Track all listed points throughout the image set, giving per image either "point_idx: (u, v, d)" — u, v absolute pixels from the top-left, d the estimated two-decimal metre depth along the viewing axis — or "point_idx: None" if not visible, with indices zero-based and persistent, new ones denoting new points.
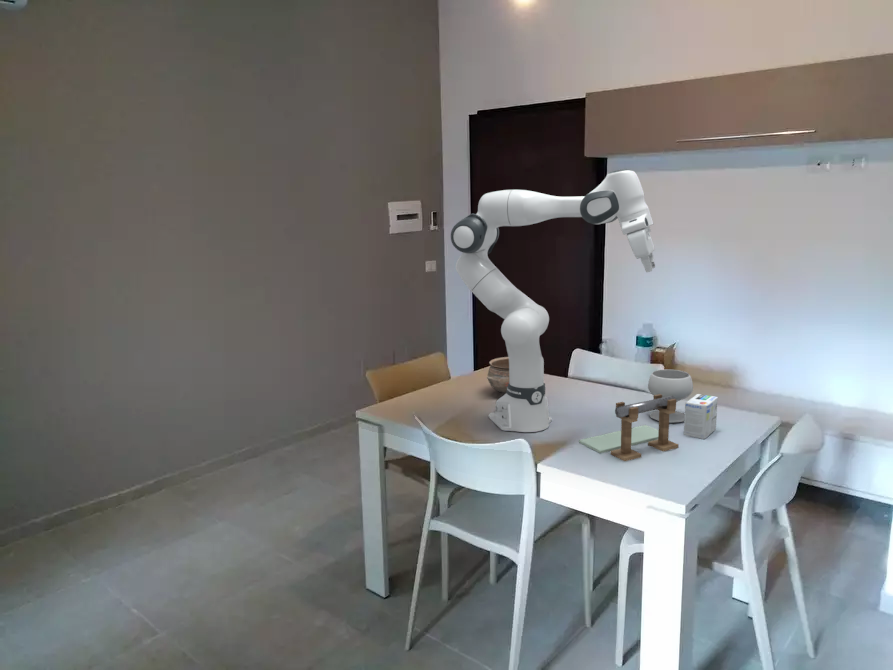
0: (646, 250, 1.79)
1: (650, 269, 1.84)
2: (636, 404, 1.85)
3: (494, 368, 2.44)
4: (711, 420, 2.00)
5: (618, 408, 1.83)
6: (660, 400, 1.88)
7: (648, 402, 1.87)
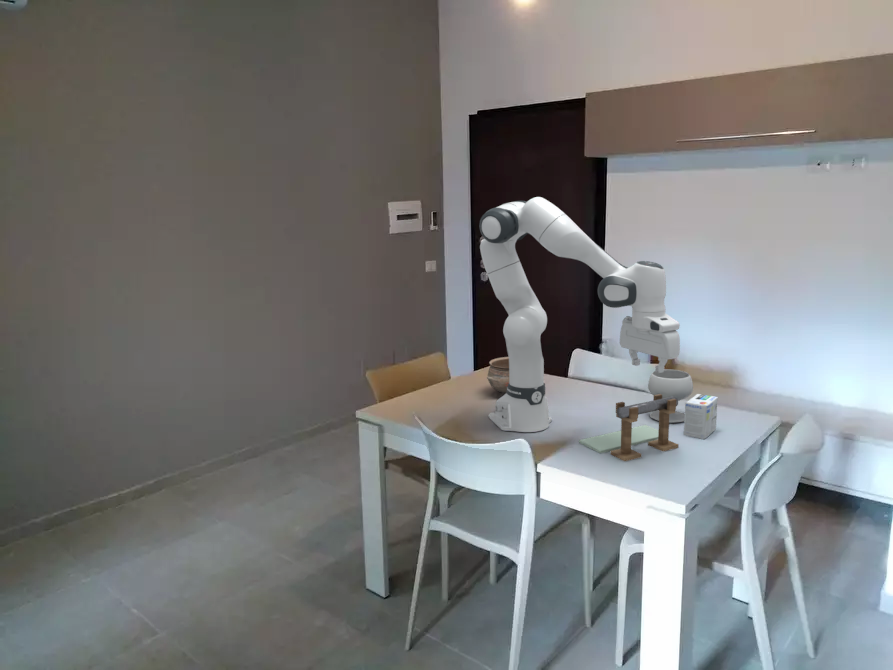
0: (678, 353, 1.76)
1: (663, 370, 1.81)
2: (639, 406, 1.84)
3: (494, 368, 2.44)
4: (711, 420, 2.00)
5: (621, 409, 1.82)
6: (663, 403, 1.88)
7: (651, 405, 1.86)
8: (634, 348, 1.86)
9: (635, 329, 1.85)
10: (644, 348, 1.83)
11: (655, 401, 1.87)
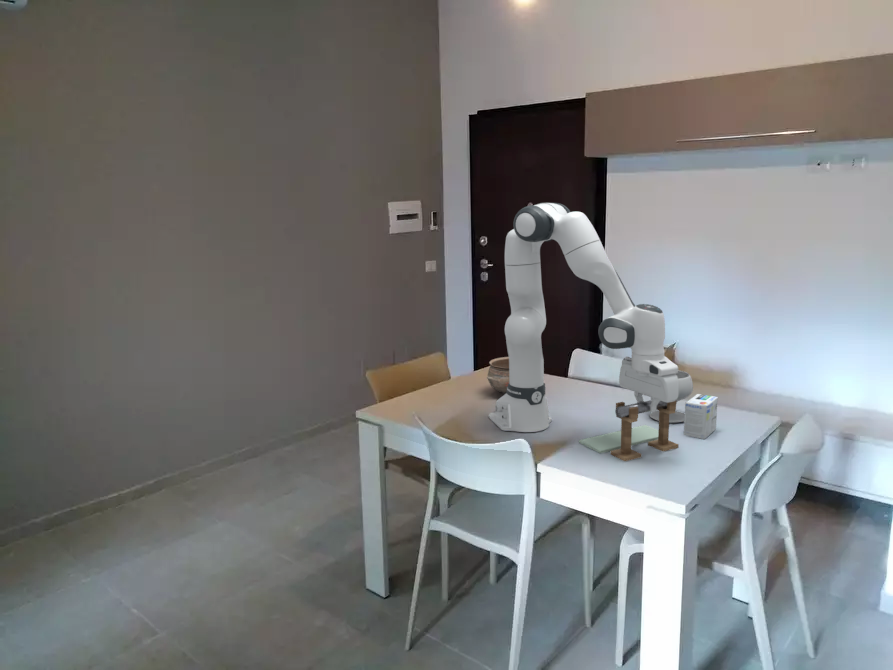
0: (677, 396, 1.78)
1: (655, 409, 1.85)
2: (637, 404, 1.85)
3: (494, 368, 2.44)
4: (711, 420, 2.00)
5: (619, 408, 1.83)
6: None
7: (649, 402, 1.87)
8: (633, 389, 1.89)
9: (634, 370, 1.87)
10: (643, 389, 1.85)
11: None
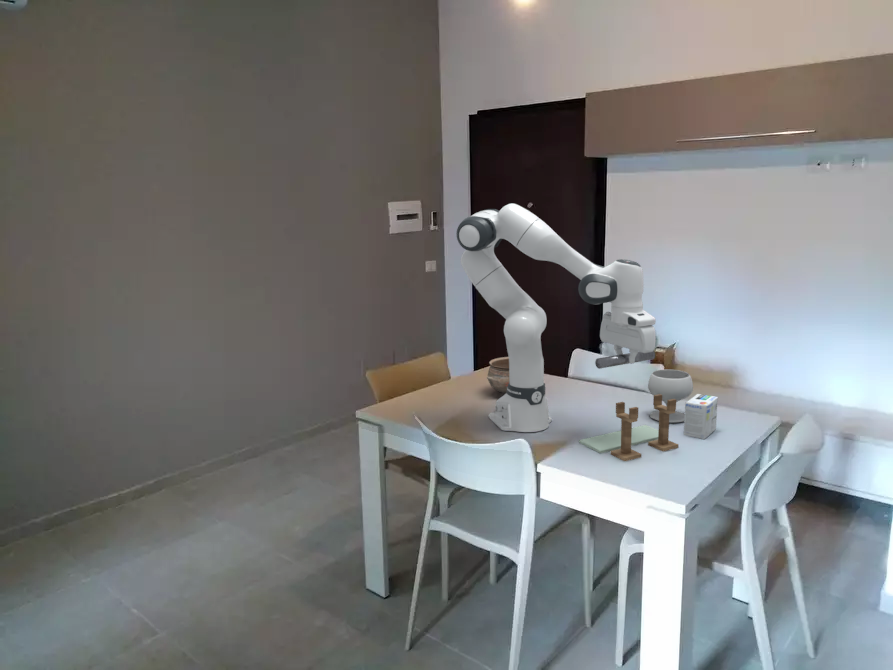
0: (654, 347, 1.85)
1: (633, 361, 1.92)
2: (616, 356, 1.92)
3: (494, 368, 2.44)
4: (711, 420, 2.00)
5: (598, 359, 1.90)
6: (639, 353, 1.95)
7: (627, 355, 1.94)
8: (613, 342, 1.96)
9: (614, 324, 1.94)
10: (622, 342, 1.92)
11: None
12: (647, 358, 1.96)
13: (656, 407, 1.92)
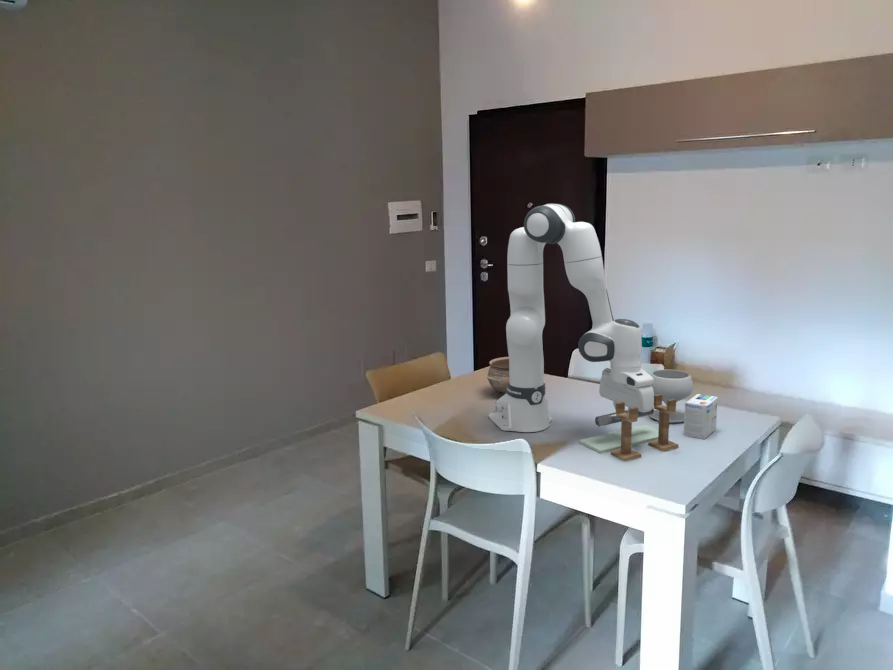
0: (652, 406, 1.89)
1: None
2: (615, 414, 1.96)
3: (494, 368, 2.44)
4: (711, 420, 2.00)
5: (598, 417, 1.94)
6: None
7: (627, 412, 1.97)
8: (612, 399, 1.99)
9: (613, 381, 1.98)
10: (622, 400, 1.95)
11: None
12: (646, 414, 2.00)
13: (656, 407, 1.92)
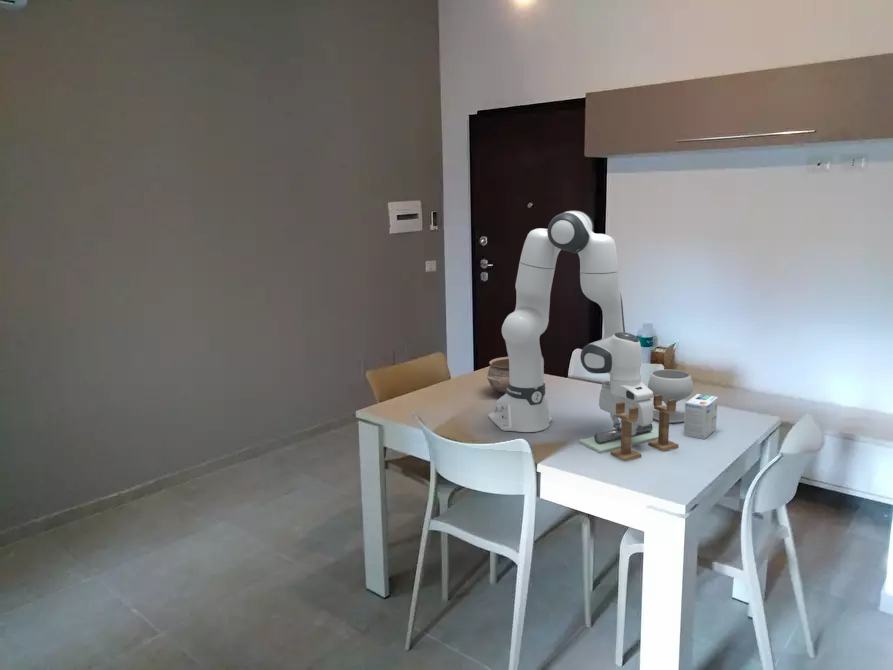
0: (652, 420, 1.90)
1: (634, 433, 1.96)
2: (614, 430, 1.97)
3: (494, 368, 2.44)
4: (711, 420, 2.00)
5: (597, 434, 1.95)
6: None
7: None
8: (612, 412, 2.00)
9: (613, 394, 1.99)
10: None
11: None
12: (645, 431, 2.01)
13: (656, 407, 1.92)
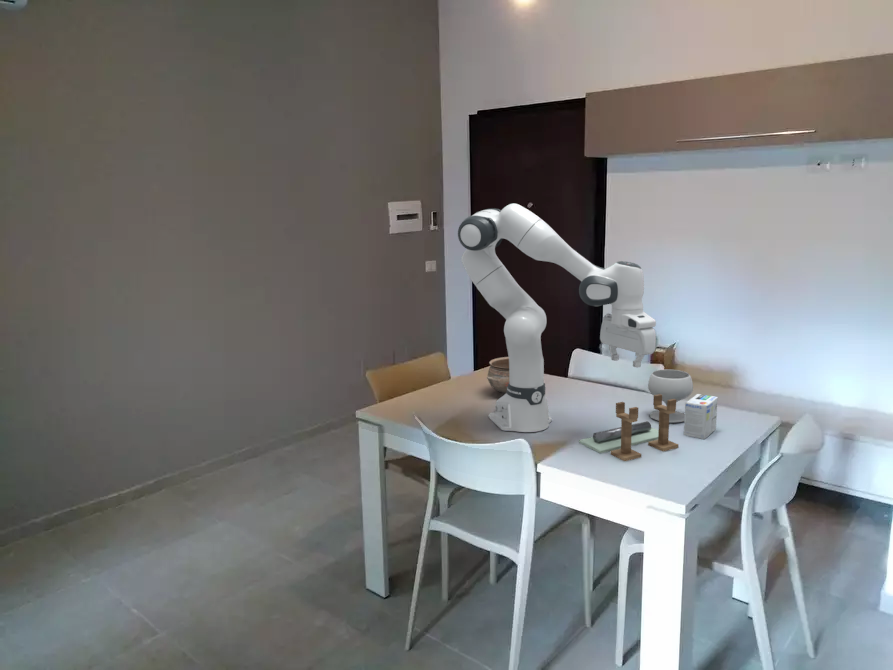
0: (654, 349, 1.85)
1: (639, 365, 1.90)
2: (611, 429, 1.98)
3: (494, 368, 2.44)
4: (711, 420, 2.00)
5: (595, 434, 1.96)
6: (634, 424, 2.01)
7: None
8: (613, 344, 1.96)
9: (614, 326, 1.94)
10: (623, 344, 1.92)
11: None
12: (644, 428, 2.02)
13: (656, 407, 1.92)
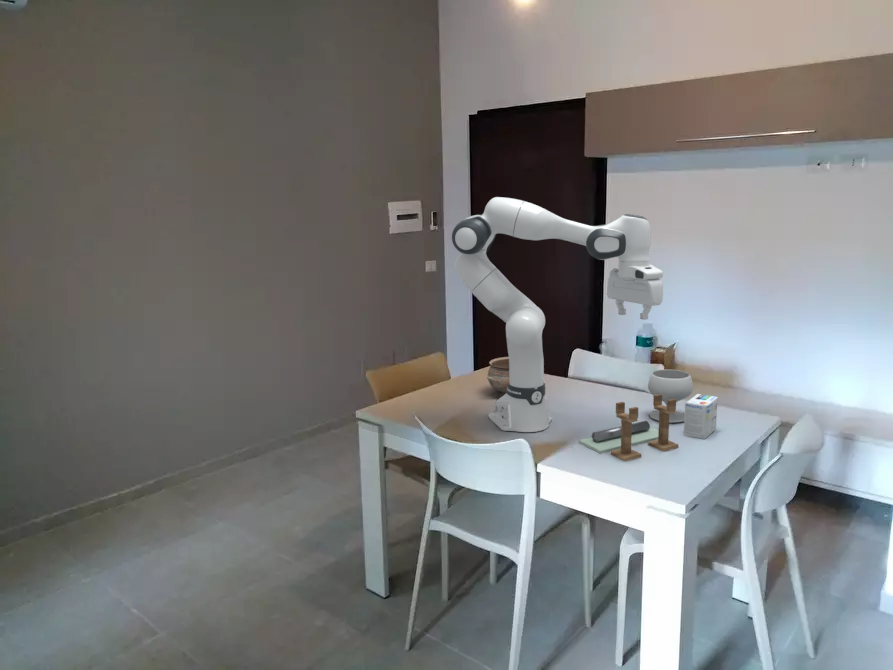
0: (661, 300, 1.86)
1: (647, 317, 1.91)
2: None
3: (494, 368, 2.44)
4: (711, 420, 2.00)
5: (593, 434, 1.97)
6: None
7: (620, 426, 2.00)
8: (620, 298, 1.97)
9: (621, 279, 1.95)
10: (630, 297, 1.93)
11: None
12: (642, 426, 2.02)
13: (656, 407, 1.92)
